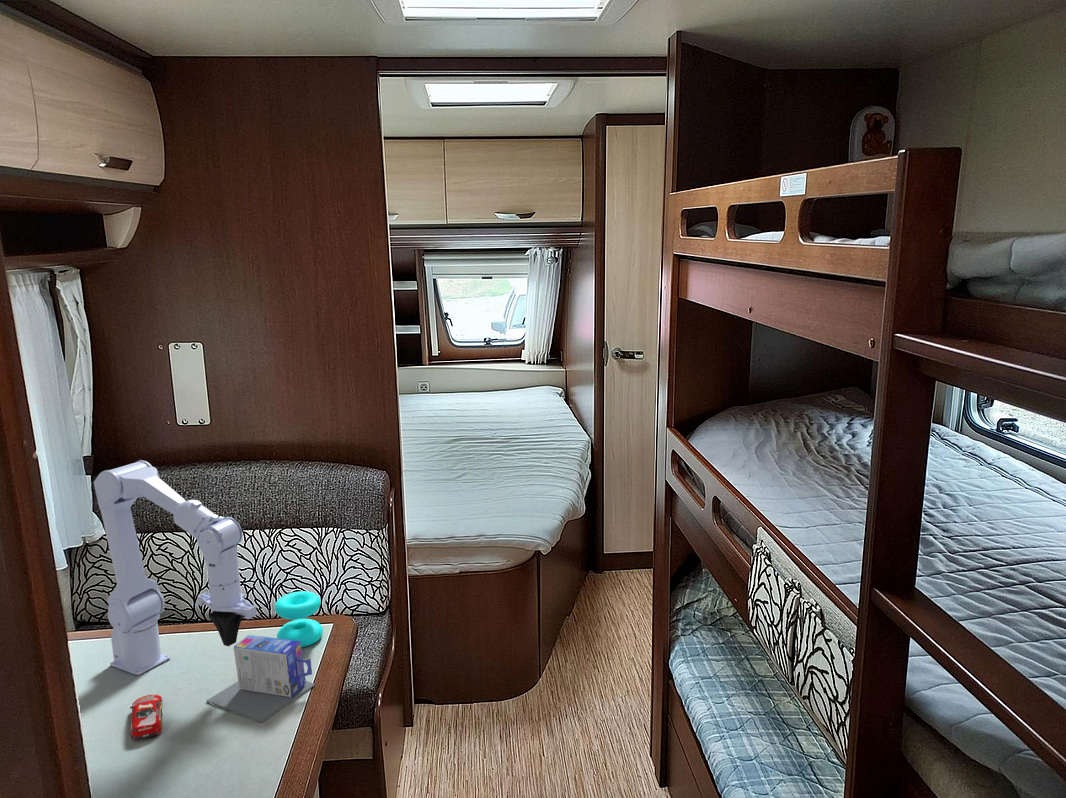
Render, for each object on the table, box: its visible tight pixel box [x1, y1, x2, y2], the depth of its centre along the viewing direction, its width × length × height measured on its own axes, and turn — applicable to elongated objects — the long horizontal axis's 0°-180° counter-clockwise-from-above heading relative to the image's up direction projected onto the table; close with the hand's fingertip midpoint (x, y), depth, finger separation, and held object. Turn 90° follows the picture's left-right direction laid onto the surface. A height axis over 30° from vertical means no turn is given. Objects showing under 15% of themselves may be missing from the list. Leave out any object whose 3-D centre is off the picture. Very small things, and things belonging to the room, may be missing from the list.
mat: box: [206, 680, 316, 724], centre depth 149 cm, size 15×14×1 cm
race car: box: [129, 694, 163, 741], centre depth 141 cm, size 13×5×4 cm, turn 24°
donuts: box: [274, 590, 324, 648], centre depth 170 cm, size 10×10×10 cm
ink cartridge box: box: [233, 634, 313, 698], centre depth 150 cm, size 10×6×14 cm
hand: (230, 643), depth 152 cm, fingers closed
